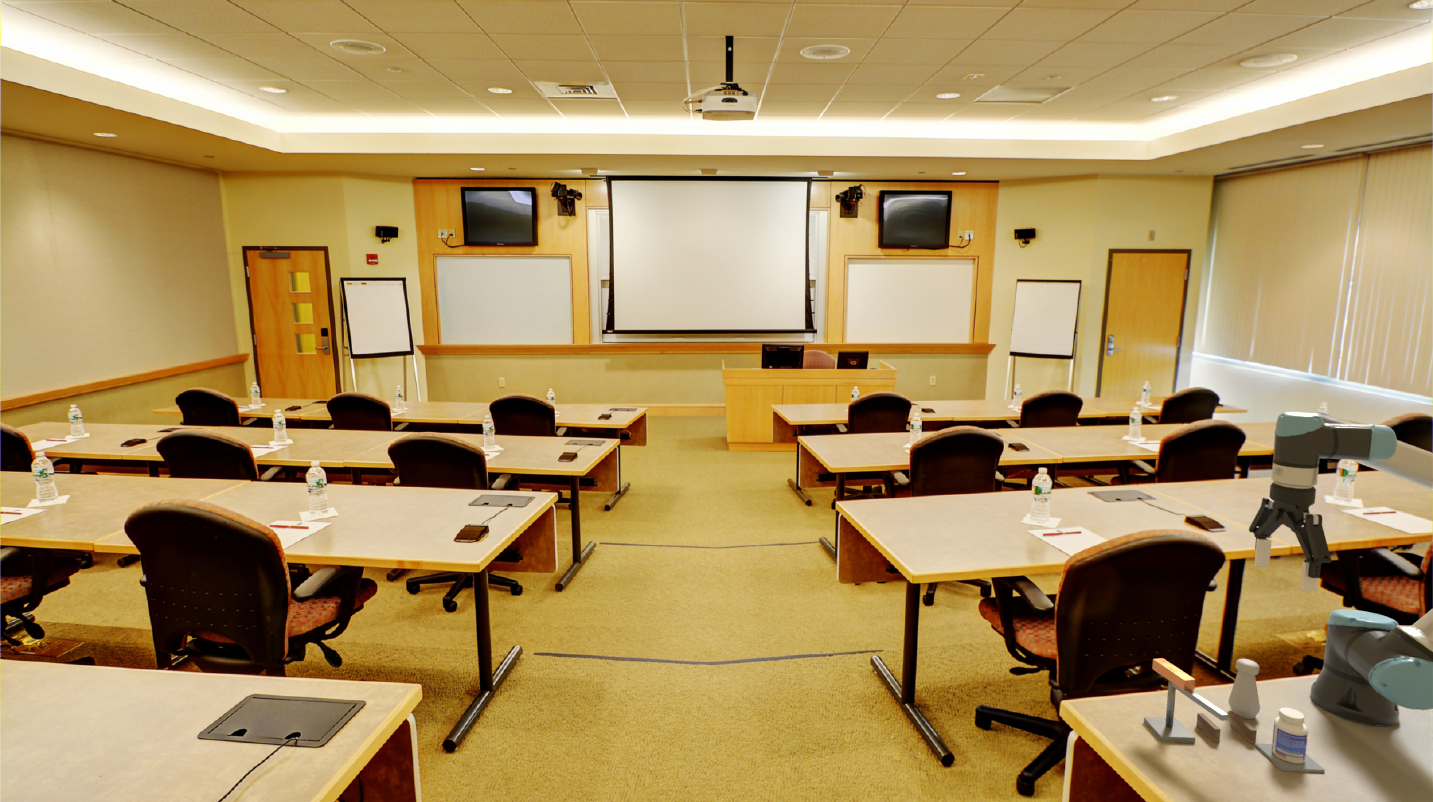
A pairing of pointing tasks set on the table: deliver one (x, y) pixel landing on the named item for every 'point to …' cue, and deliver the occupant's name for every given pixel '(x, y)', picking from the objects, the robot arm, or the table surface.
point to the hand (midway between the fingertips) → (1283, 578)
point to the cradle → (1236, 724)
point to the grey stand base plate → (1169, 730)
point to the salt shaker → (1245, 690)
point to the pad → (1306, 766)
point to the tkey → (1182, 690)
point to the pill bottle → (1290, 736)
